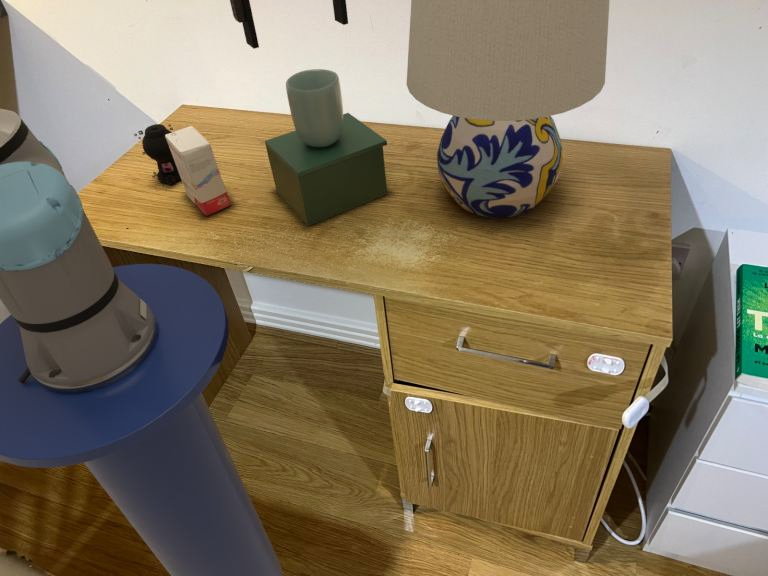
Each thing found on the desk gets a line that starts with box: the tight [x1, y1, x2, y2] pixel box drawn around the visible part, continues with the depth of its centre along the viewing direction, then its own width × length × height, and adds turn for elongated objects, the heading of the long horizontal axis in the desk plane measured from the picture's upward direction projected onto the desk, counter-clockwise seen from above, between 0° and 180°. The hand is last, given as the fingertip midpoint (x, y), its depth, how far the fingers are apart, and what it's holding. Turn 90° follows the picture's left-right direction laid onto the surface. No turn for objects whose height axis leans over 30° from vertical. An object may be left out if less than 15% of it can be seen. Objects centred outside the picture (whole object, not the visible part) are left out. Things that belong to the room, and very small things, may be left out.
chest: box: [265, 145, 388, 227], centre depth 96 cm, size 15×13×9 cm
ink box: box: [165, 125, 232, 216], centre depth 97 cm, size 9×5×12 cm, turn 35°
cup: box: [285, 68, 344, 147], centre depth 90 cm, size 8×8×10 cm
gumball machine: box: [133, 123, 181, 187], centre depth 104 cm, size 7×6×10 cm
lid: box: [264, 112, 388, 177], centre depth 93 cm, size 15×13×1 cm
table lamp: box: [406, 0, 610, 219], centre depth 82 cm, size 27×27×40 cm
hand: (298, 33), depth 82 cm, fingers open, 13 cm apart
